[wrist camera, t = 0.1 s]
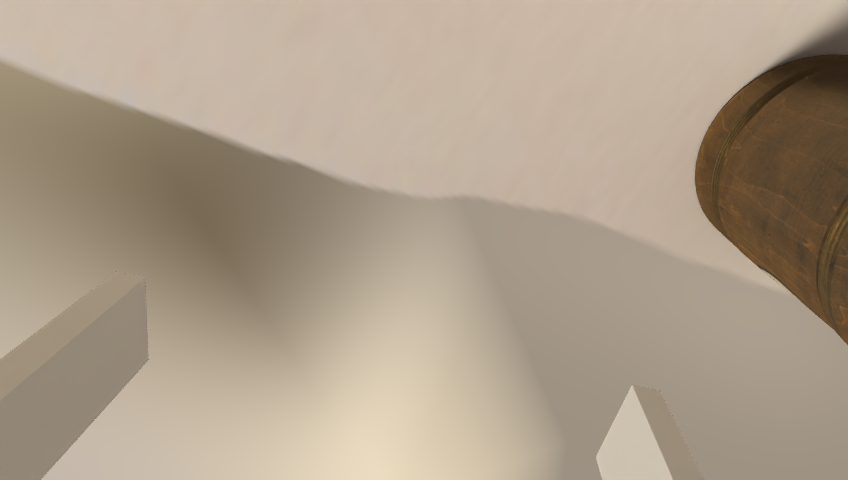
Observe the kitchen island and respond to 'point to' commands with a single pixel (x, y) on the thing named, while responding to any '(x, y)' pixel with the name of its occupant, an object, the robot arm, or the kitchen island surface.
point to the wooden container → (786, 180)
